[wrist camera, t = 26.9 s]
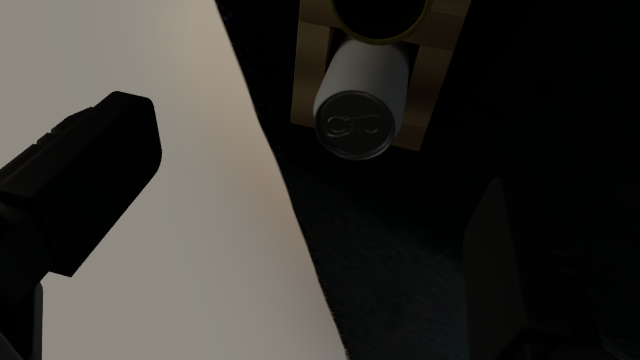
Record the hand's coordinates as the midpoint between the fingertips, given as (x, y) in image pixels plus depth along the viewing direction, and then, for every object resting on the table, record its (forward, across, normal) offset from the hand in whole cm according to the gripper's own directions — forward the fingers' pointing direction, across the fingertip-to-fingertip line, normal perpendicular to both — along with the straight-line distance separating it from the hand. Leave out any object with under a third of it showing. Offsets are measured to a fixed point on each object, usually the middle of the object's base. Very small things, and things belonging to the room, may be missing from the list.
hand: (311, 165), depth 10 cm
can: (+28, 0, +10) cm, 30 cm away
